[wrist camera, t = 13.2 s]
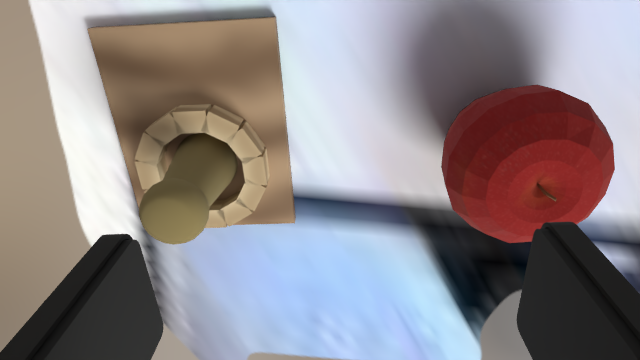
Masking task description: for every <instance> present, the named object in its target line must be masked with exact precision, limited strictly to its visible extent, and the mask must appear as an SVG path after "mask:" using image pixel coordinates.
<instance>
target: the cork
mask: <svg viewBox="0 0 640 360" xmlns="http://www.w3.org/2000/svg"><path fill="white" fill-rule="evenodd" d="M237 167H238V161H237V157H236V154H235V152H234V151H233V150H232V148H231V147H230V146H229V145H228V143H226V142H224V141H222V140H220V139H217V138H215V137H213V136H211V135H209V134H207V133H196V134H192V135H190V136H188V137H186V138H185V139H184V140H183V141H182V142H181V143H180V144H179V146H178V148H177V150H176V153H175V155H174V157H173V159H172V161H171V163H170V165H169V168H168V170H167V172H166V174H165V176H164V178H163V180H162V181H160V182H158V183H156V184H154V185H152V186H151V187H150V188H149V190H148V191H147V192H146V193H145V194H144V195H143V198H142V200H141V203H140V206H139V217H140V220H141V222H142V225H143V227H144V229H145V230H146V231H147V232H148V234H150V235H151V236H152V237H154V238H155V239H156V240H159V241H161V242H164V243H168V244H181V243H186V242H188V241H191V240H193V239H195V238H196V237H197V236H198V235H199V234H200V233H201V232H202V231H203V230H204V228H205V226H206V224H207V221H208V219H209V207H210V206H211V205H212V204H213V202H214V201H215V200H216V199H217V198H218V197H219V195H220V194H221V193H222V192H223V191H224V189H225V188H226V187H227V186H228V185H229V184H230V182H231V181H232V180H233V179H234V177H235V175H236V173H237Z"/></svg>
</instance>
